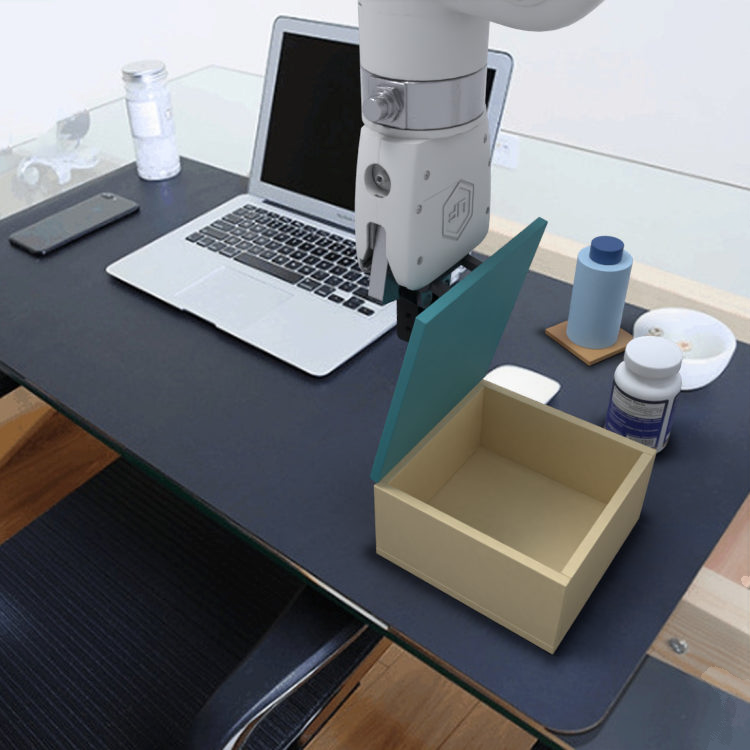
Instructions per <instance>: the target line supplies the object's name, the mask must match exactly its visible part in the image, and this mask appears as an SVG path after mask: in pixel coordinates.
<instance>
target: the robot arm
mask: <svg viewBox="0 0 750 750" xmlns="http://www.w3.org/2000/svg"><path fill="white" fill-rule="evenodd" d="M605 1H606V0H357V16H358V17H357V18H358V19H357V20H358V21H357V22H358V42H359V44H358V45H359V68H360V69H359V72H360V98H361V121H362V122H363V124H364V125H363V126H362V127H361V128H360V136H359V143H358V153H357V161H356V162H357V163H356V174H355V175H356V176H355V192H354V193H355V195H354V196H355V197H354V235H355V237H354V238H355V249H356V257H357V263H358V266H359V269H360V271H361V272H362V273H364V274H370V277H369V284H368V291H367V292H368V293H367V297H368V299H369V300H372V301H374V302H377V303H380V304H383V305H388V304H391V303H393V302H395V301H396V336H397V338H398V339H399V340H401V341H403V342H406V343H407V344H408V343H409V340H410V336H411V333H412V329H413V326H414V323H415V319H416V317H417V316H418V315H419V314H421V313H422V312H423V311H424V310H426V309H427V308H428V307H429V306H430V305H432V304H433V303H434V302H435V301H437V300H438V299H439V298H440V297H439V296H437V295H435V294H434V293H432V292H431V291H428V292H426V293H421V292H419V291H417V290H418V289H420V288H423V287H424V286H426V285H428V284H429V283H431V282H432V281H433V280H435V279H436V278H438V277H439V276H440V275H442V274H443V273H444V272H445V271H447V270H448V269H449V268H451V267H452V266H453V265H455V264H456V263H457V262H458V261H460V260H461V259H462V258H463V257H465V256H466V255H467V254H468V253H469V254H470V253H471V252H473V250H475V249H476V248H477V247H478V246H480V244H481V243H482V242H483V241H484V240H485V239H486V237H487V235H488V234H489V229H490V221H491V201H492V200H491V199H492V197H491V194H492V161H491V160H492V159H491V157H492V155H491V154H492V153H491V152H492V151H491V134H490V125H489V116H488V110H487V104H486V90H487V76H488V75H487V74H488V55H489V40H490V22H491V23H493V24H498V25H500V26H502V27H503V26H504V27H506V28H510V29H514V30H519V31H525V32H534V33H536V32H537V33H543V32H551V31H556V30H561V29H563V28H567V27H570V26H571V25H573V24H575V23H577V22H579V21H581V20H582V19H583V18H586V16H588V15H589V14H590V13H592V12H593V11H594V10H595V9H597V8H598V7H599V6H601V5H602V4H603V3H604V2H605ZM452 273H453V272H452ZM452 273H451V274H449V275H448V276H447V277H446V278H444V279H443V280H442V281H441V282H443V283H445V284H446V285H448V286H450V287H451V282H452V275H453V274H452Z"/></svg>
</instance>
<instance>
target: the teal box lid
mask: <svg viewBox="0 0 750 750" xmlns="http://www.w3.org/2000/svg"><path fill="white" fill-rule="evenodd" d="M548 224H549V221H548V220H547V219H545V218H543V217H541V216H538V217H537V218H535V219H534V220H533V221H532V222H531V223H529V224H528V225H527V226H526V227H525V228H523V229H522V230H521V231H520V232H519V233H517V234H516V235H514V236H513V237H512V238H511V239H510V240H508V241H507V242H506V243H505V244H504V245H503V246H501V247H500V248H499V249H498V250H496V251H495V252H494V253H493V254H491V255H490V256H489V257H487V259H486V260H484V261H481V260H480V259H478V258H476V257H474V256H473V255H471V254H470V253H468V254H467V255H466V256H465V257H463V258H462V259H461V260H460V261H458V262H457V263H456V264H455V265H453V266H452V267H451V268H449V269H448V270H447V271H445V272H444V273H443V274H442V275H440V276H439V277H438V278H436V279H435V280H433V281H432V282H431V283H429V284H428V285H426V286H424V287H423V288H420V289H418V290H417V291H419V292H421V293H426V292H428V291H431V292H432V293H434V294H435V295H437V296H439V297H440V298H439V299H438V300H437V301H435V302H434V303H433V304H432V305H430V306H429V307H428V308H427V309H426V310H424V311H423V312H422V313H421V314H419V315H418V316H417V317H416V319H415V323H414V326H413V329H412V333H411V336H410V340H409V343H408V342H407V346H406V347H407V348H406V350H405V354H404V357H403V360H402V364H401V368H400V371H399V375H398V378H397V381H396V385H395V388H394V392H393V396H392V398H391V402H390V406H389V409H388V413H387V416H386V420H385V423H384V427H383V429H382V433H381V437H380V440H379V443H378V446H377V447H378V448H377V450H376V454H375V458H374V460H373V465H372V468H371V471H370V473H369V474H370V475H369V479H370V480H372V481H373V482H374V483H375V484H376V483H379V482H380V481H381V480H382V479H383V478H384V477H385V476H386V475H387V474H388V473H389V472H390V471H391V470H392V469H393V468H394V467H395V466H396V465H397V464H398V463H399V462H400V461H401V460H402V459H403V458H404V457H405V456H406V455H407V454H408V453H409V452H410V451H411V450H412V449H413V448H414V447H415V446H416V445H417V444H418V443H419V442H420V441H421V440H422V439H423V438H424V437H425V436H426V435H427V434H428V433H429V432H430V431H431V430H432V429H433V428H434V427H435V426H436V425H437V424H438V423H439V422H440V421H441V420H442V419H443V418H444V417H445V416H446V415H447V414H448V413H449V412H450V411H451V410H452V409H453V408H454V407H455V406H456V405H457V404H458V403H459V402H460V401H461V400H462V399H463V398H464V397H465V396H466V395H467V394H468V393H469V392H470V391H471V390H472V389H473V388H474V387H475V386H476V385H477V384H478V383H479V382H480V381H481V380H482V379H485V378H486V377H487V374H488V371H489V369H490V366H491V364H492V362H493V359H494V357H495V354H496V351H497V349H498V346H499V345H500V342H501V339H502V337H503V334H504V332H505V331H506V330H505V329H506V327H507V325H508V322H509V320H510V317H511V315H512V312H513V309H514V307H515V304H516V302H517V300H518V298H519V295H520V293H521V291H522V288H523V285H524V282H525V281H526V278H527V275H528V273H529V270H530V268H531V265H532V263H533V260H534V258H535V255H536V253H537V251H538V248H539V246H540V243H541V240H542V239H543V236H544V234H545V231H546V228H547V226H548ZM460 267H462V268H465V269H466V270H468V271H469V273H468V274H467V275H466V276H465V277H464V278H462V279H461V280H460V281H459V282H457V283H456V284H454V285H453V286H452V287H451V285H450V286H448V285H446V284H445V283H443V282H441V281H442V280H443V279H444V278H446V277H447V276H448V275H449V274H451V273H454V272H455V271H456V270H457V269H458V268H460Z"/></svg>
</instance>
